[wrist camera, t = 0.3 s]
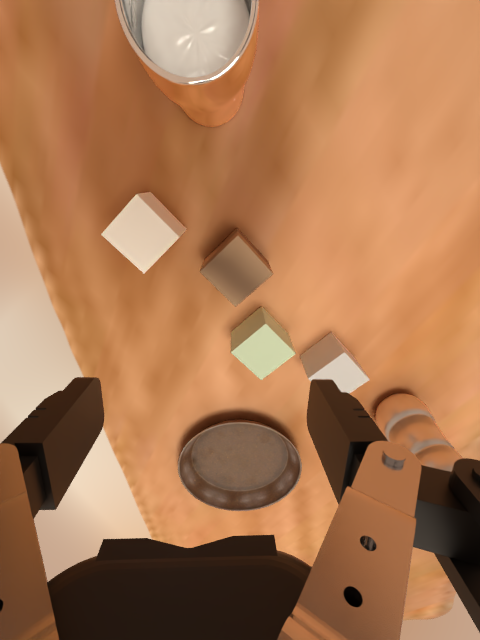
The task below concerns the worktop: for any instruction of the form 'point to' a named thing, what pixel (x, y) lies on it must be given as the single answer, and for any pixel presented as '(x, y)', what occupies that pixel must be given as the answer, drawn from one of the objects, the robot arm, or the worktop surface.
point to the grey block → (333, 364)
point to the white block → (144, 230)
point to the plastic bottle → (415, 430)
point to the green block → (261, 343)
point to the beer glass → (195, 51)
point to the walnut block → (236, 268)
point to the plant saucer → (239, 465)
